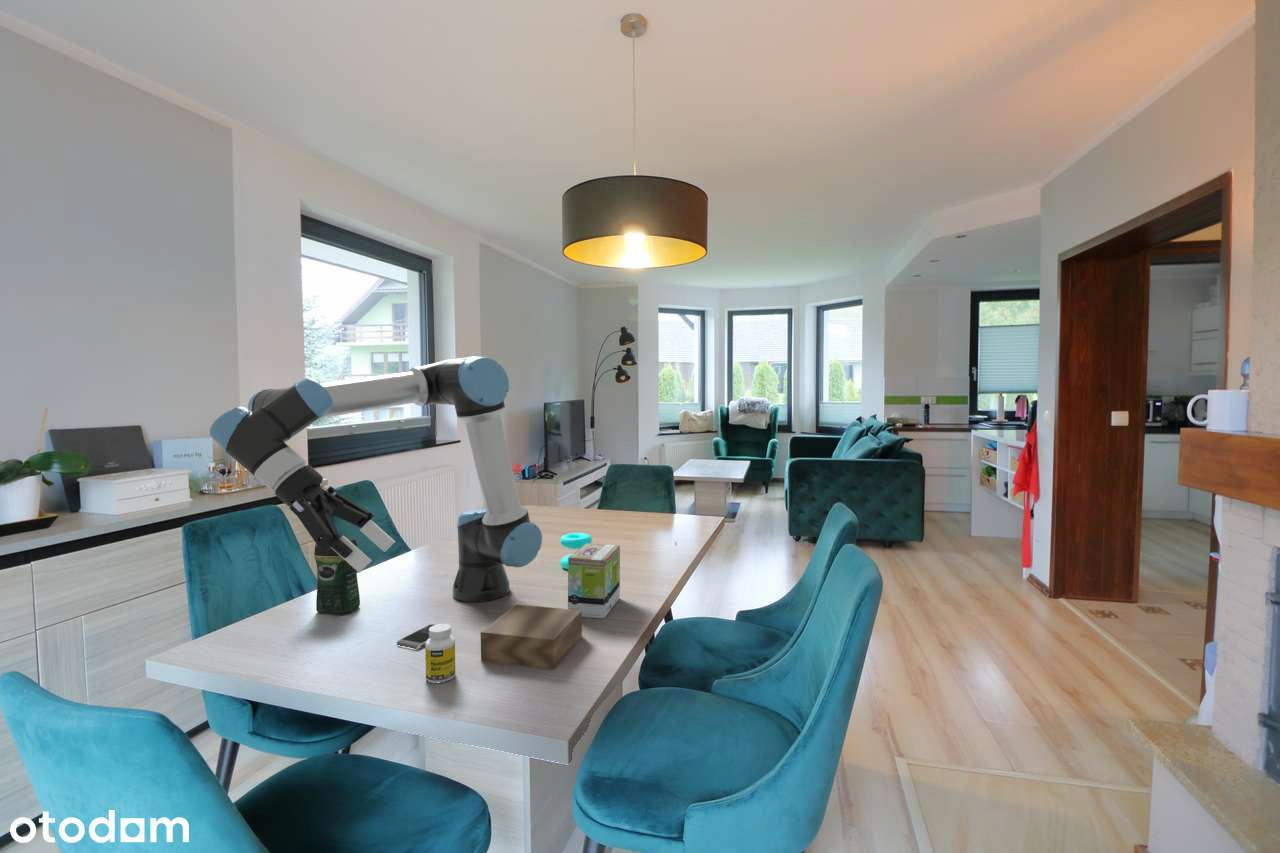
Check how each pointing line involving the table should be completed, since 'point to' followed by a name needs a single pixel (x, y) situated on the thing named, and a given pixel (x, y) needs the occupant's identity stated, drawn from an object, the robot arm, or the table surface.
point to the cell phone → (416, 638)
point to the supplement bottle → (440, 654)
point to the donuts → (573, 544)
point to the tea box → (594, 579)
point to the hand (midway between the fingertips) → (378, 556)
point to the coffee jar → (335, 583)
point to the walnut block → (531, 636)
